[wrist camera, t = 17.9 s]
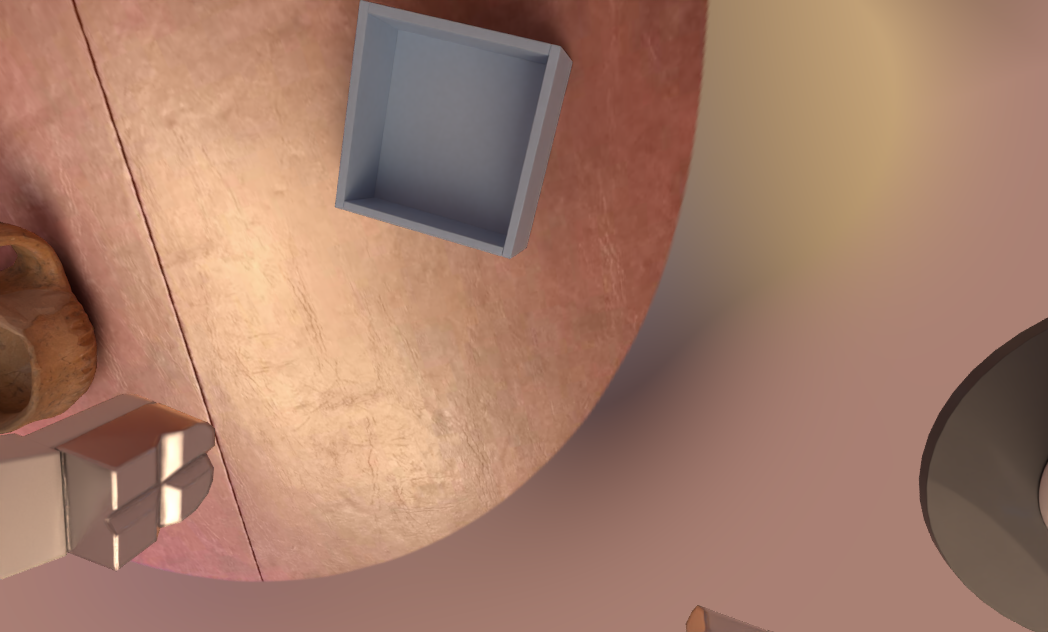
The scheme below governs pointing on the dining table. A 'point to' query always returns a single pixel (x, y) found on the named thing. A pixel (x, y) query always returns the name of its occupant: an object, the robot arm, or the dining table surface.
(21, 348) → the bowl
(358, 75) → the blue bin
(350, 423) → the dining table surface
